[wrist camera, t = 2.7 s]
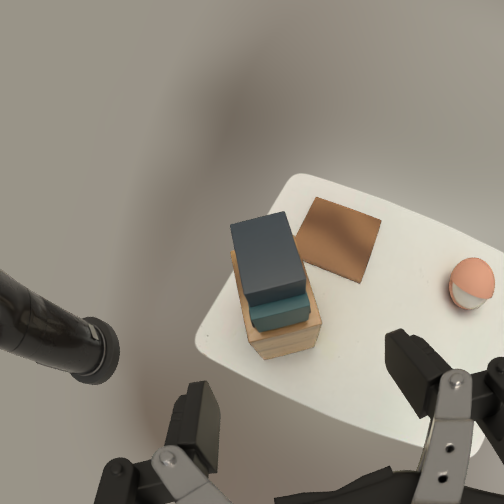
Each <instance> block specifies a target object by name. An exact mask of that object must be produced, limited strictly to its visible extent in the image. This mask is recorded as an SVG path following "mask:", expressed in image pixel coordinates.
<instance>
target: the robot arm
mask: <svg viewBox="0 0 504 504" xmlns="http://www.w3.org/2000/svg"><path fill="white" fill-rule="evenodd" d="M0 349H1V350H4V351H7V352H10V353H12V354H15V355H18V356H20V357H23V358H26V359H30V360H32V361H35V362H36V363H38V364H41V365H44V366H47V367H51V368H54V369H58V370H61V371H65V372H69V373H73V374H75V373H77V374H79V375H82V376H91V375H94V374H95V373H97V372H98V371H99V370H100V369H101V367H102V366H103V364H104V362H105V359H106V355H107V342H106V338H105V335H104V333H103V332H102V330H101V329H100V328H99V327H98V326H96V325H94V324H92V323H89V322H87V321H85V320H83V319H81V318H79V317H77V316H75V315H73V314H72V313H70V312H68V311H66V310H64V309H62V308H60V307H59V306H57V305H55V304H53V303H52V302H50V301H48V300H46V299H44V298H43V297H41V296H39V295H38V294H36V293H34V292H33V291H31V290H30V289H28V288H26V287H25V286H23V285H22V284H20V283H18V282H17V281H16V280H14V279H13V278H12V277H10V276H9V275H8V274H7V273H5V272H4V271H3V270H1V269H0ZM385 364H386V368H387V370H388V372H389V374H390V375H391V377H392V378H393V380H394V381H395V383H396V384H397V386H398V387H399V388H400V390H401V391H402V393H403V394H404V396H405V397H406V399H407V400H408V402H409V403H410V405H411V406H412V408H413V409H414V411H415V413H416V414H417V416H418V417H419V419H421V418H423V417H425V416H427V415H428V416H429V417H430V419H431V420H430V423H429V428H428V432H427V436H426V440H425V444H424V448H423V452H422V455H421V458H420V462H419V465H418V467H417V470H416V471H411V470H402V471H401V470H400V471H392V469H391V467H390V466H388V467H385V468H383V469H380V470H377V471H375V472H372V473H369V474H367V475H364V476H362V477H360V478H358V479H357V480H355V481H353V482H351V483H349V484H348V485H346V486H344V487H342V488H340V489H338V490H336V491H330V492H309V493H299V494H294V495H289V496H283V497H277V498H274V502H275V504H504V495H501V494H496V493H491V492H487V491H482V490H478V489H474V488H470V487H467V486H464V484H465V479H466V474H467V469H468V464H469V458H470V451H471V444H472V436H473V426H474V421H476V422H477V424H478V425H479V427H480V428H481V430H482V431H483V433H484V434H485V436H486V437H487V439H488V440H489V442H490V443H491V445H492V446H493V448H494V450H495V451H496V453H497V455H498V456H499V458H500V459H501V461H502V463H503V464H504V357H497V358H494V359H493V360H491V361H490V363H489V364H488V367H487V370H485V371H482V372H478V373H474V374H469V373H468V372H467V371H465V370H462V369H452V368H451V367H450V366H449V365H448V364H447V363H446V361H445V360H444V359H443V358H442V357H441V356H440V355H439V354H438V353H437V352H436V351H434V349H433V348H432V347H431V346H429V344H428V343H427V342H426V341H425V340H424V339H423V338H420V337H418V336H416V335H412V336H409V335H408V334H407V333H406V332H405V331H404V330H403V329H401V328H400V329H398V330H395V331H392V332H390V333H387V334H386V335H385ZM219 431H220V409H219V405H218V403H217V401H216V399H215V396H214V394H213V392H212V390H211V388H210V386H209V384H208V382H207V381H200V382H193V383H189V386H188V390H187V394H186V395H181V396H180V397H179V398H178V400H177V401H176V402H175V404H174V408H173V414H172V416H171V421H170V424H169V428H168V432H167V437H166V441H165V445H164V447H162V448H160V449H158V450H157V451H156V452H155V453H154V454H153V456H152V459H151V460H148V461H143V462H140V463H135V464H132V463H131V462H130V461H129V460H128V459H126V458H115V459H113V460H111V461H109V462H108V463H107V464H106V466H105V467H104V470H103V473H102V477H101V480H100V483H99V487H98V490H97V494H96V498H95V501H94V504H166V503H170V502H175V504H233V503H232V502H231V501H230V500H229V499H228V498H227V497H226V496H225V495H224V494H223V493H222V492H221V491H220V490H219V489H218V488H217V487H216V486H215V485H214V484H213V483H212V482H211V481H210V480H209V479H208V474H210V473H217V466H218V449H219Z"/></svg>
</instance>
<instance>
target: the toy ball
mask: <svg viewBox="0 0 504 504" xmlns="http://www.w3.org/2000/svg"><path fill="white" fill-rule="evenodd" d="M494 288H495V278H494V274H493V271H492V269H491V268H490V266H489V265H488V264H487V263H486V262H485V261H483V260H481V259H479V258H467V259H465V260H463V261H461V262H460V263H459V264H457V266H456V267H455V268H454V270H453V271H452V273H451V276H450V282H449V290H450V294H451V297H452V300H453V301H454V303H455V304H456V305H457V306H458V307H460V308H462V309H467V310H469V309H475V308H477V307H480V306H481V305H483V304H484V303H485V302H486V301H487V299H489V298H491V297H492V296H493V293H494Z"/></svg>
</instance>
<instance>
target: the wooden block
mask: <svg viewBox="0 0 504 504" xmlns="http://www.w3.org/2000/svg"><path fill="white" fill-rule="evenodd" d="M293 238H294V241H295V244H296V247H297V250H298V253H299V256H300V259H301V262H302V266H303V269H304V272H305V275H306V278H307V279H306V291H307V295H308V298H309V301H310V307H311V313H310V314H309V319H308V320H307V321H304V322H300V323H296V324H292V325H288V326H285V327H281V328H277V329H273V330H268V331H264V332H260V333H259V332H258V330H257V329H256V327H255V328H253V326H252V323H251V320H250V316H249V306H248V302H247V300H246V298H245V296H244V294H243V289H242V284H241V279H240V274H239V269H238V264H237V259H236V254H235V250H234V251H231V252H230V253H231V258H232V263H233V268H234V273H235V278H236V283H237V288H238V293H239V298H240V303H241V308H242V313H243V318H244V322H245V327H246V332H247V337H248V341H249V343H250V344H251V345H252V347H253V348H254V349H255V350H256V351H257V352H258V353H259V355H260V356H261V357H262V358H263V359H264V360H267V359H271V358H275V357H279V356H283V355H287V354H291V353H295V352H298V351H302V350H306V349H309V348H313V347H314V346H315V343H316V340H317V337H318V334H319V331H320V328H321V325H322V321H321V318H320V314H319V311H318V308H317V305H316V301H315V298H314V295H313V292H312V289H311V285H310V282H309V279H308V276H307V273H306V270H305V267H304V264H303V261H302V258H301V255H300V252H299V249H298V246H297V243H296V240H295V237H294V235H293Z"/></svg>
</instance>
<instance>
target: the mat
mask: <svg viewBox="0 0 504 504" xmlns="http://www.w3.org/2000/svg"><path fill="white" fill-rule="evenodd" d="M380 224H381V220H380V219H377V218H374V217H372V216H369V215H366V214H364V213H361V212H358V211H356V210H353V209H350V208H347V207H344V206H342V205H339V204H336V203H333V202H330V201H327V200H324V199H321V198H318V197H316V198H315V200H314V202H313V204H312V206H311V208H310V210H309V212H308V214H307V215H306V217H305V219H304V221H303V223H302V225H301V227H300V229H299V231H298V233H297V235H296V237H295V240H296V243H297V246H298V249H299V252H300V255H301V258H302V260H303V261H305V262H308V263H310V264H313V265H315V266H318V267H320V268H323V269H325V270H328V271H330V272H333V273H335V274H338V275H340V276H343V277H345V278H348V279H350V280H353V281H355V282H357V283H360V282H361V280H362V277H363V275H364V272H365V269H366V266H367V263H368V260H369V258H370V255H371V252H372V249H373V246H374V243H375V240H376V236H377V233H378V230H379V227H380Z"/></svg>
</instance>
